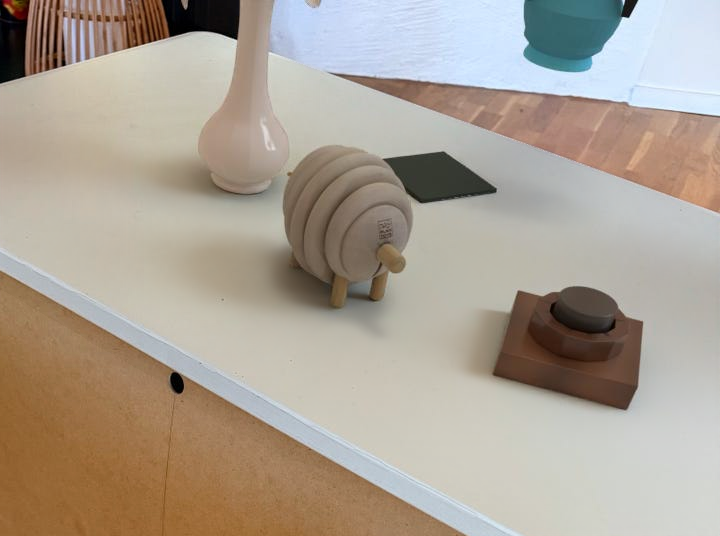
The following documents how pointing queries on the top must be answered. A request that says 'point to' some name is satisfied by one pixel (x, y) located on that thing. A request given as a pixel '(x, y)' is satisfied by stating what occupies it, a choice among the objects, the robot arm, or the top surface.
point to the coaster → (437, 177)
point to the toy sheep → (347, 219)
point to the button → (585, 310)
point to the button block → (570, 353)
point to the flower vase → (247, 112)
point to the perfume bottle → (568, 31)
